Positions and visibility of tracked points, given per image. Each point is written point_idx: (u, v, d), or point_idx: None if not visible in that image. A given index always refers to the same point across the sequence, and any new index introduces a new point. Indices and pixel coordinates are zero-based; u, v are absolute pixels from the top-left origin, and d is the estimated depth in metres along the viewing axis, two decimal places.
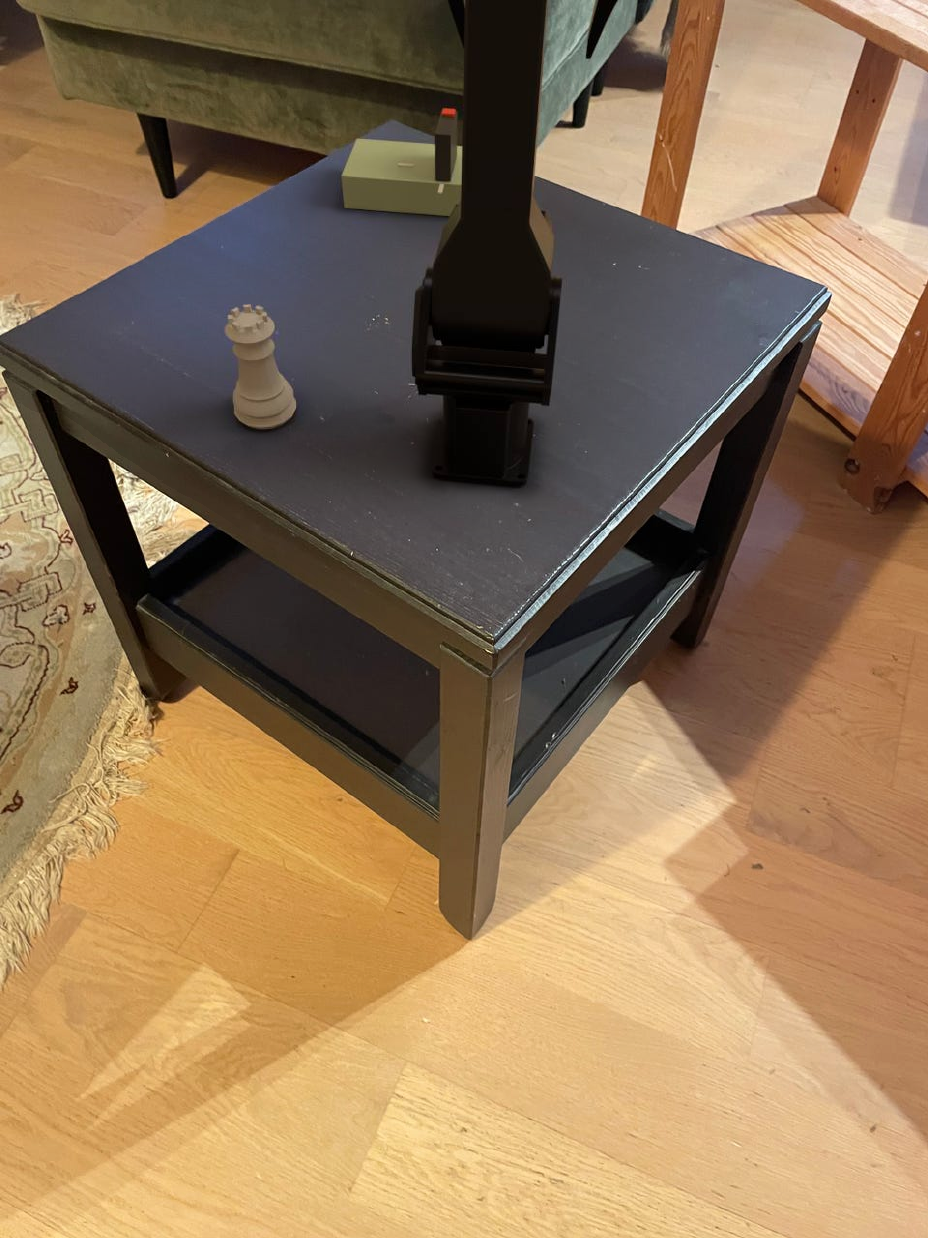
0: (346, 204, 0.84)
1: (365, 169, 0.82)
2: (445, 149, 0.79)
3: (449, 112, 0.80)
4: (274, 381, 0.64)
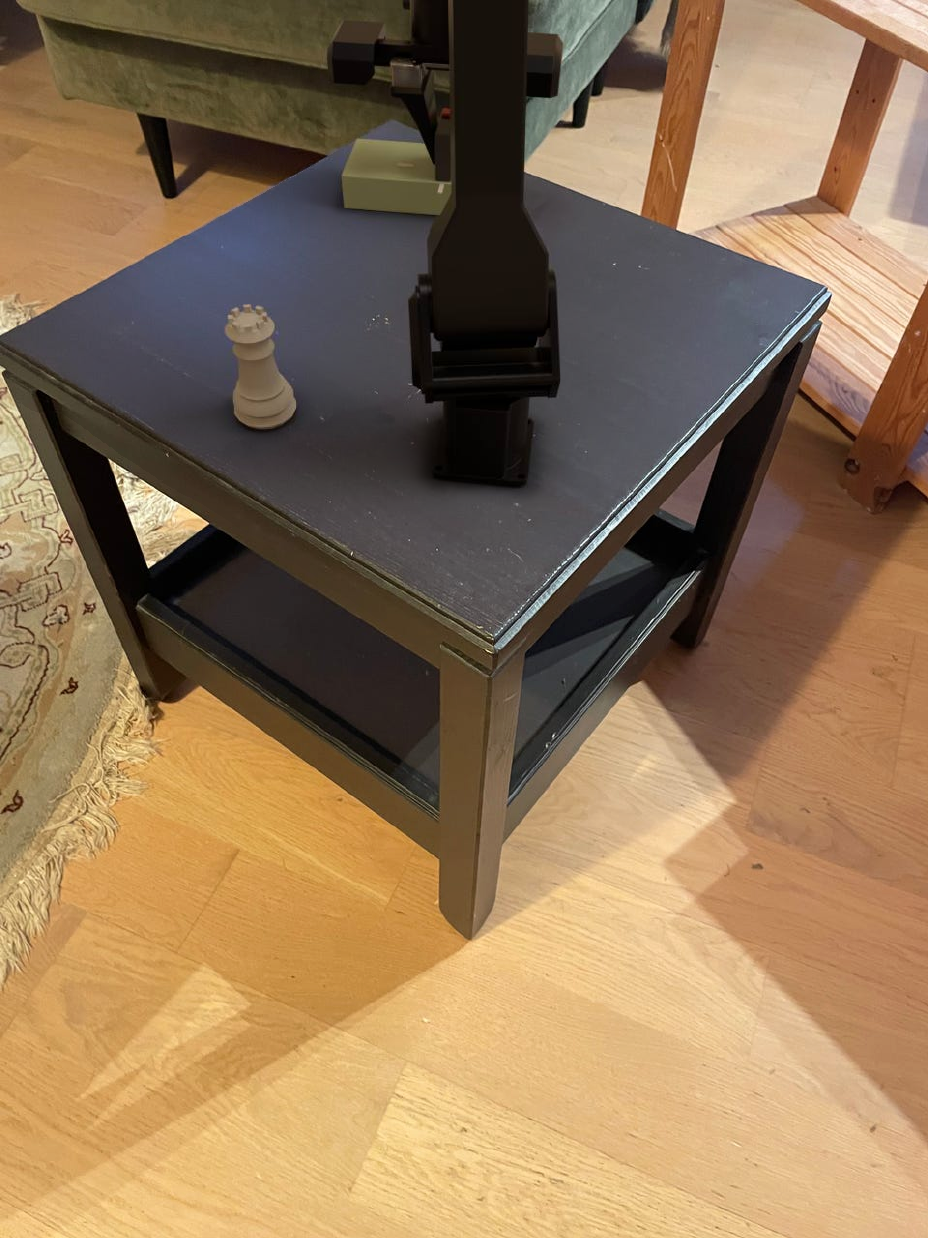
0: (346, 204, 0.84)
1: (365, 169, 0.82)
2: (445, 149, 0.79)
3: (449, 112, 0.80)
4: (274, 381, 0.64)
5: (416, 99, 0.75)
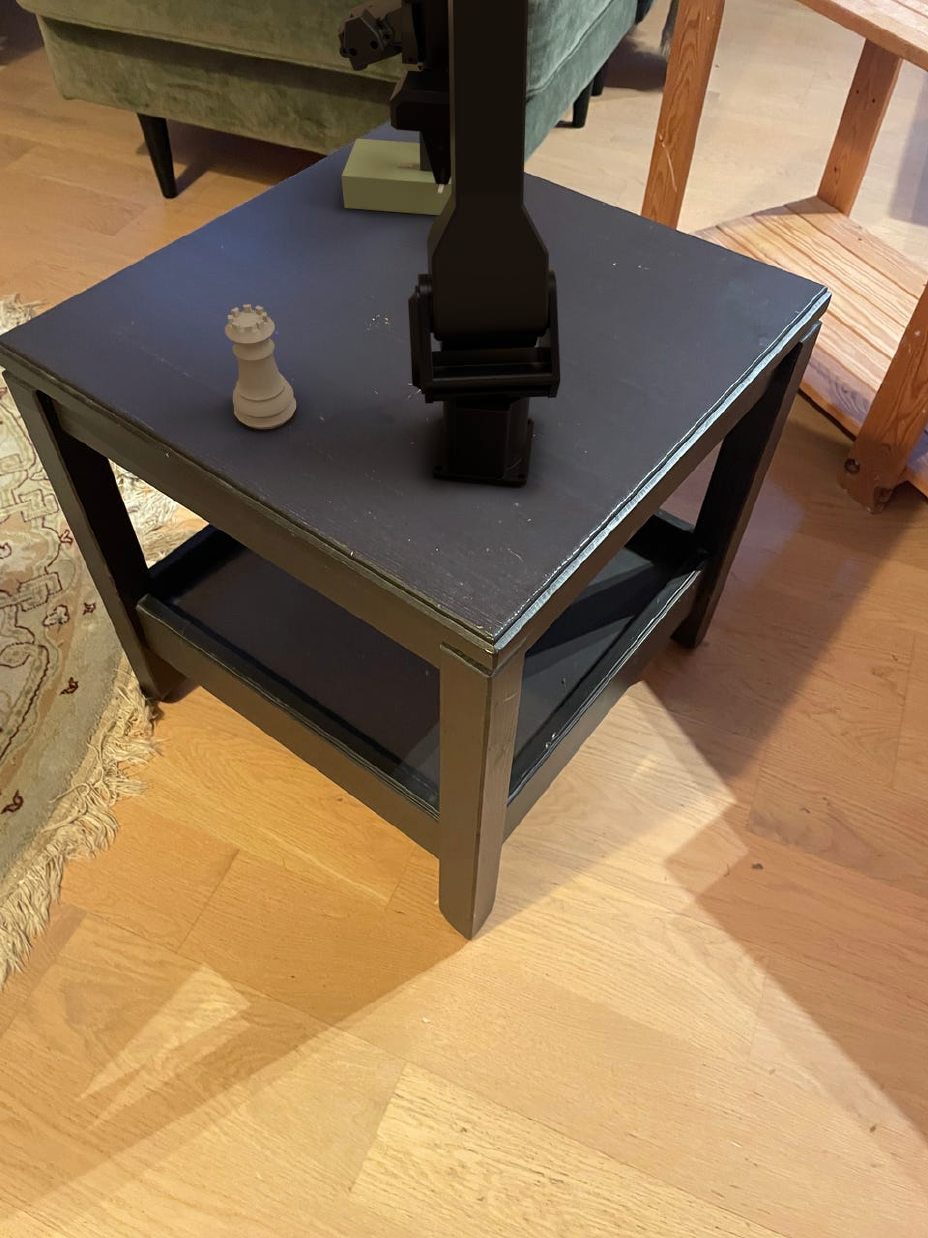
0: (346, 204, 0.84)
1: (365, 169, 0.82)
2: None
3: None
4: (274, 381, 0.64)
5: None
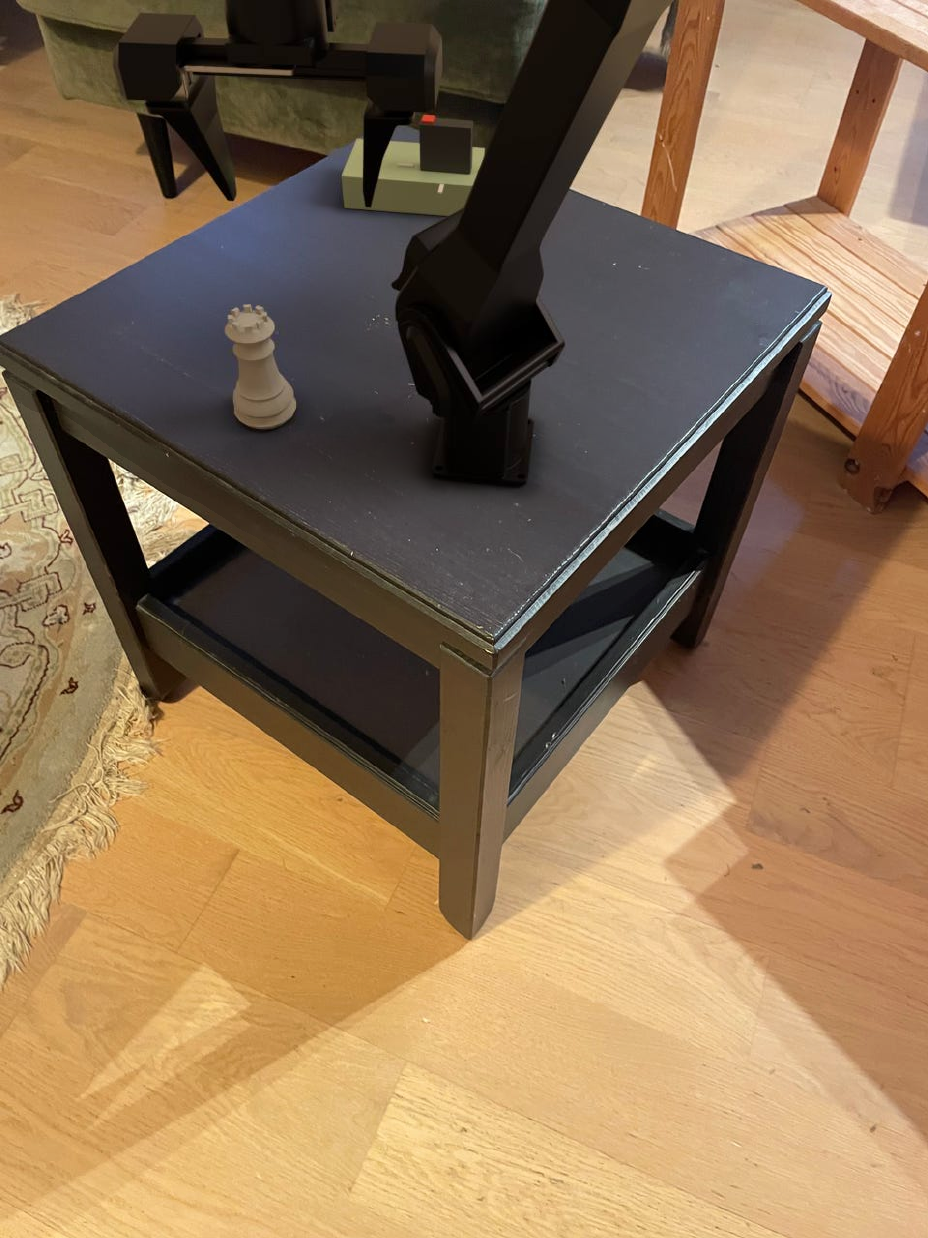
0: (346, 204, 0.84)
1: None
2: (472, 137, 0.80)
3: (431, 117, 0.79)
4: (274, 381, 0.64)
5: (182, 116, 0.55)
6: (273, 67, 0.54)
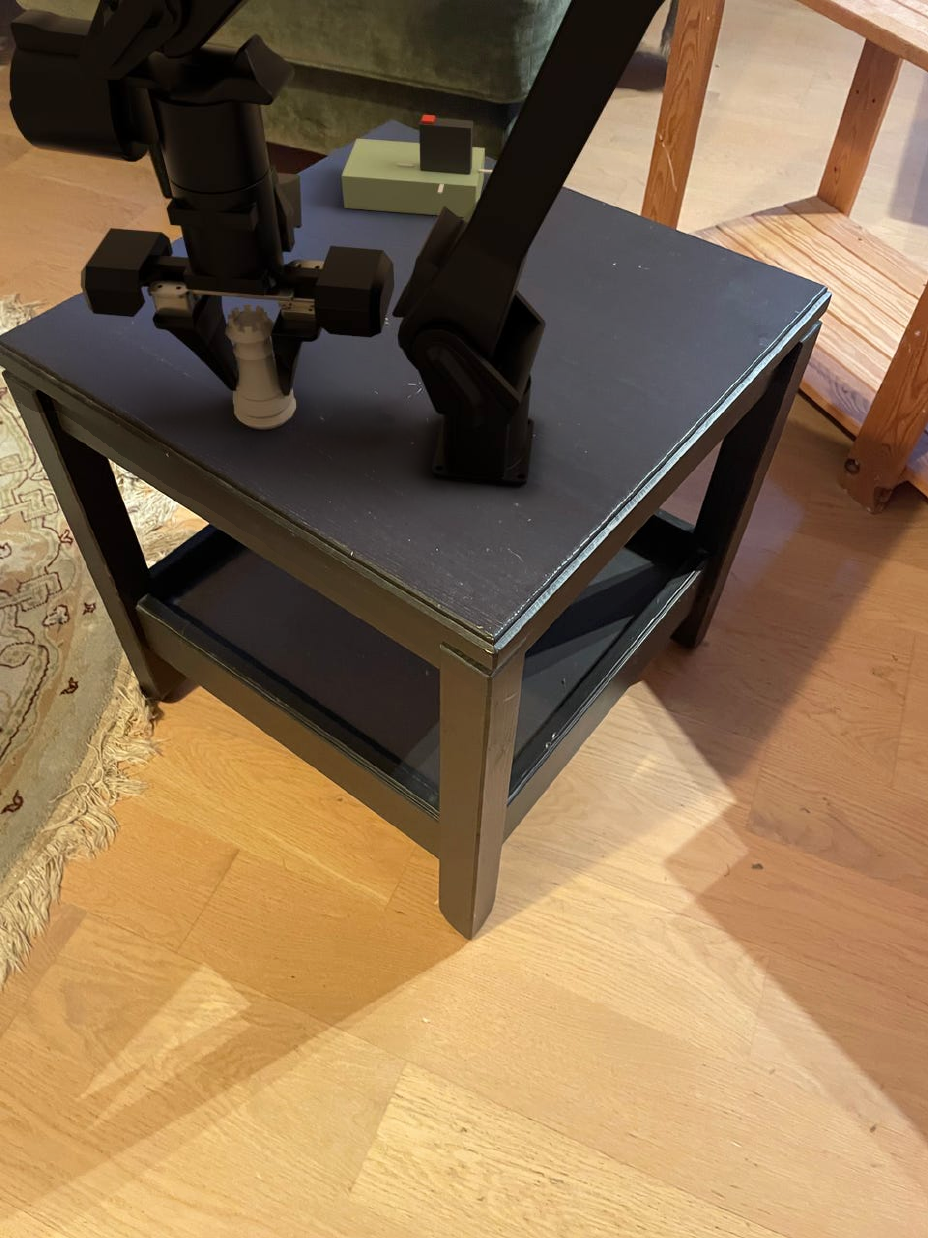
0: (346, 204, 0.84)
1: (365, 169, 0.82)
2: (472, 137, 0.80)
3: (431, 117, 0.79)
4: (273, 381, 0.64)
5: (187, 331, 0.58)
6: (273, 293, 0.57)
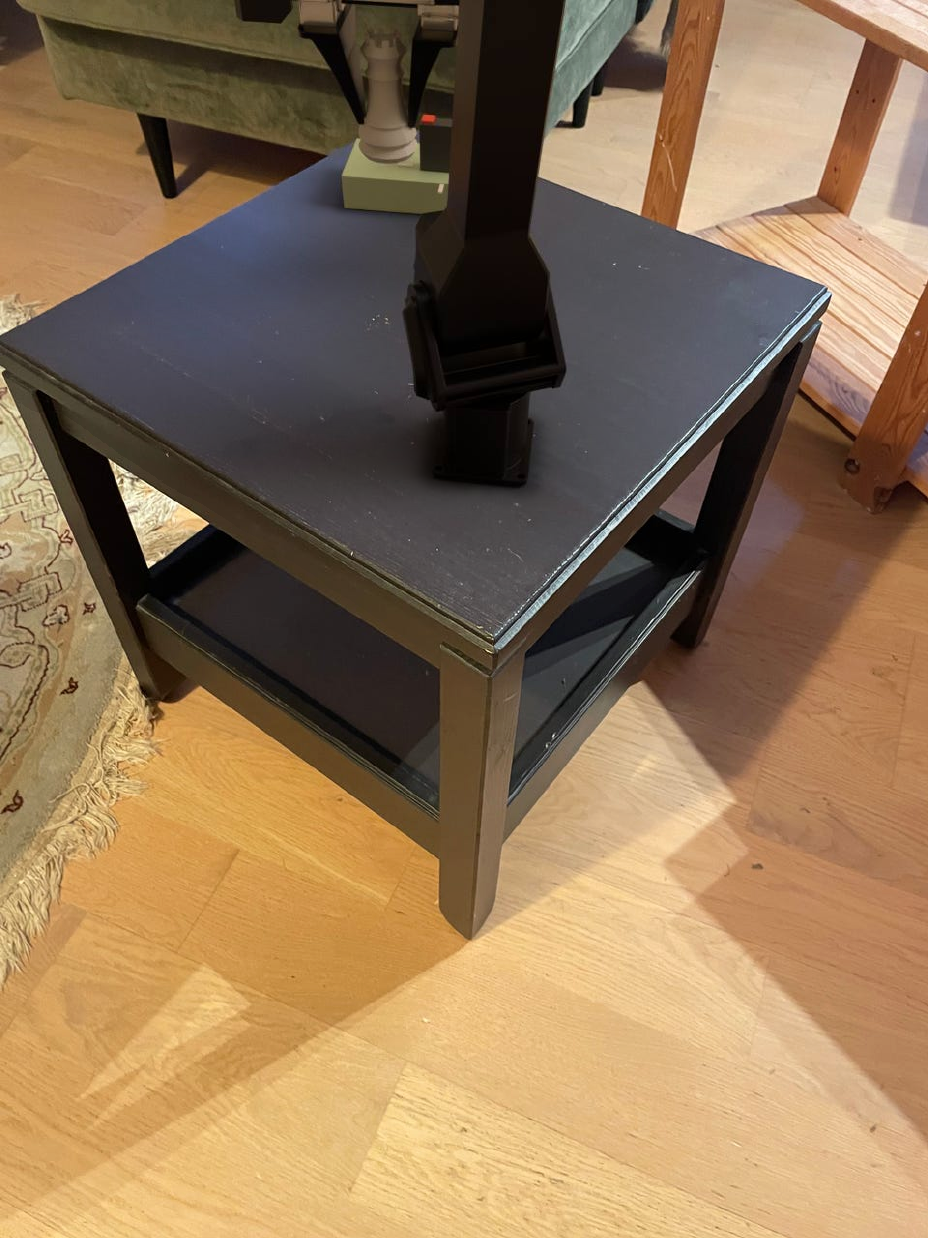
0: (346, 204, 0.84)
1: (365, 169, 0.82)
2: None
3: (431, 117, 0.79)
4: (402, 109, 0.66)
5: (331, 40, 0.61)
6: None
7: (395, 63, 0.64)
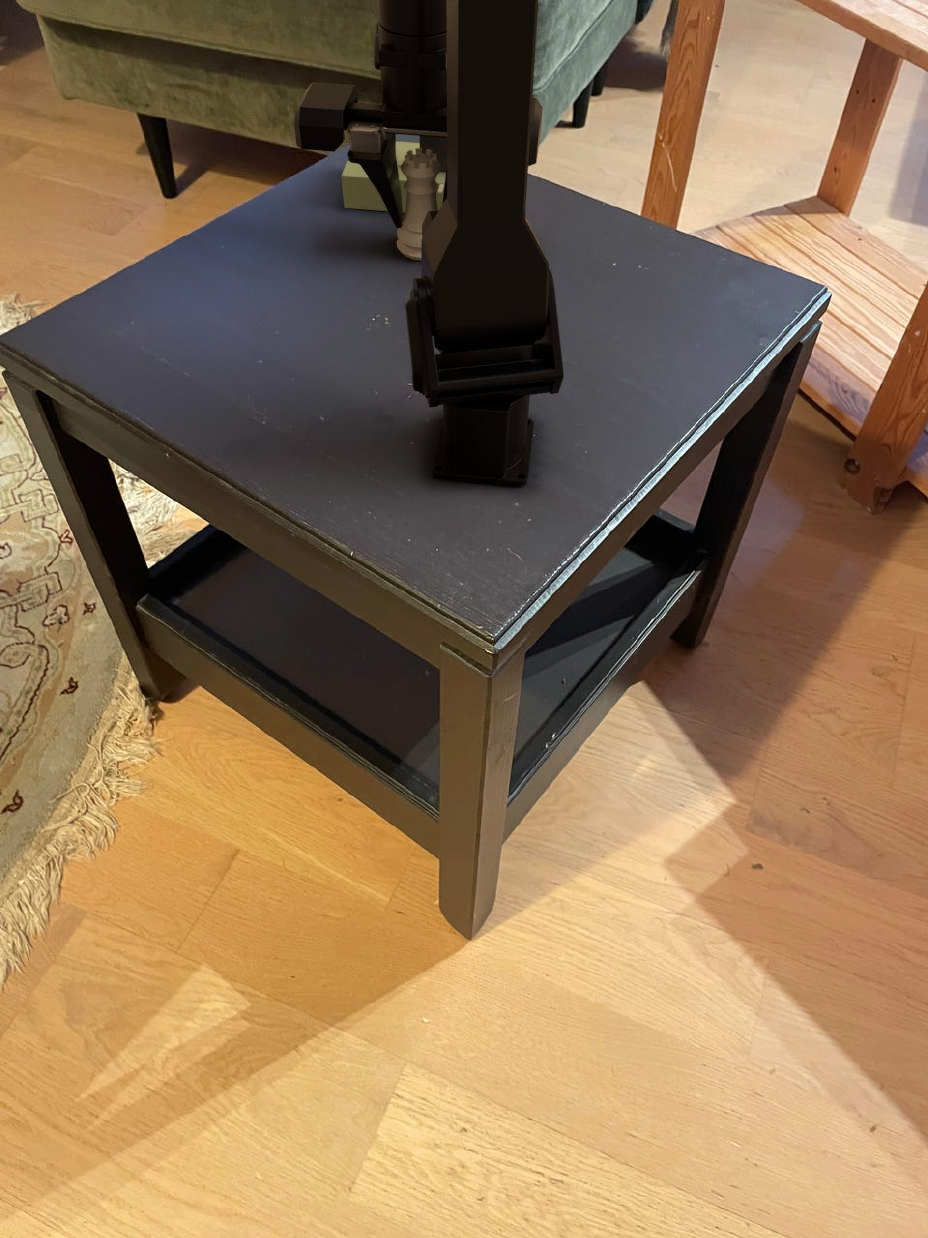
0: (346, 204, 0.84)
1: None
2: None
3: None
4: None
5: (375, 165, 0.72)
6: None
7: (430, 180, 0.74)
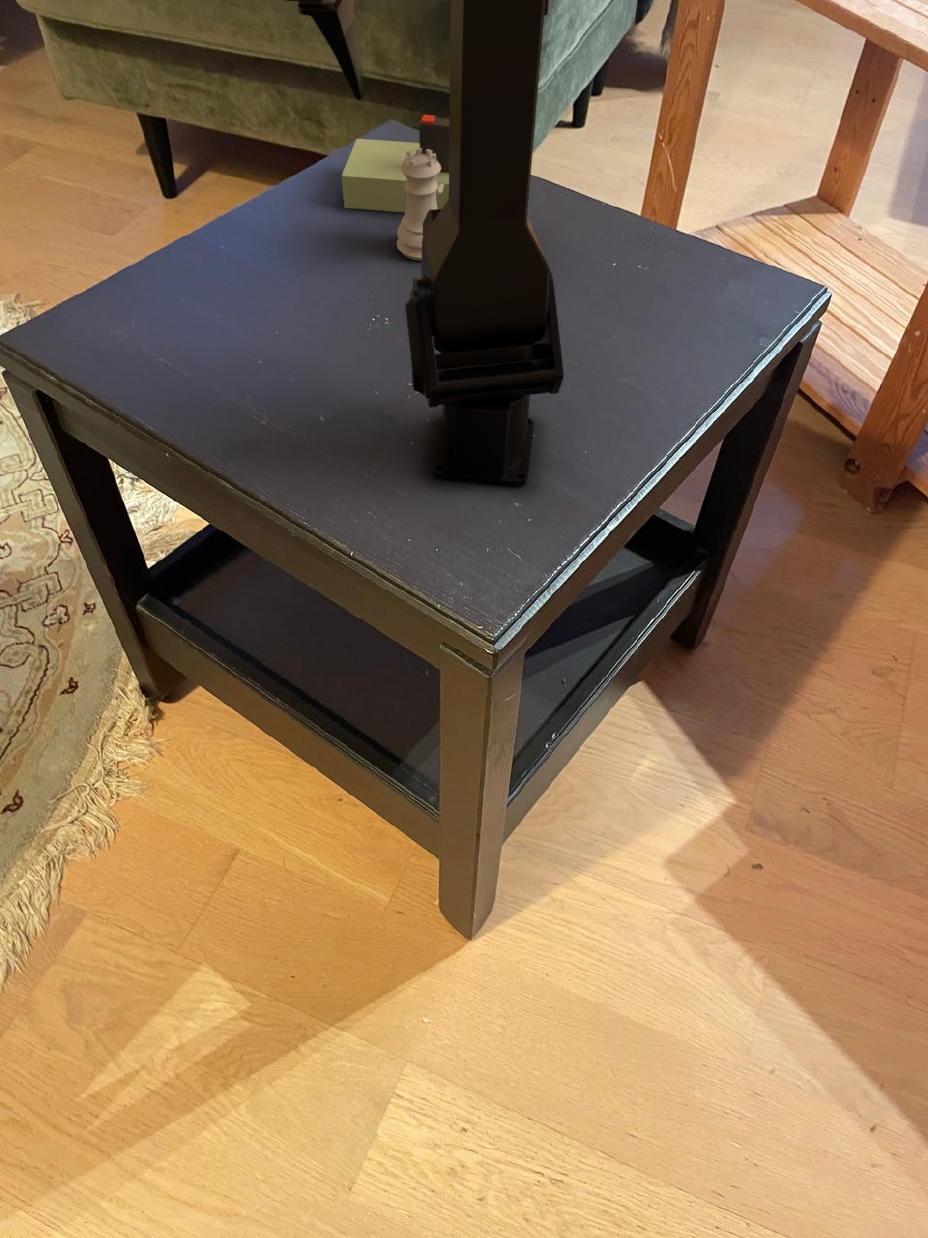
0: (346, 204, 0.84)
1: (365, 169, 0.82)
2: None
3: (431, 117, 0.79)
4: None
5: (329, 16, 0.64)
6: None
7: (430, 180, 0.74)
